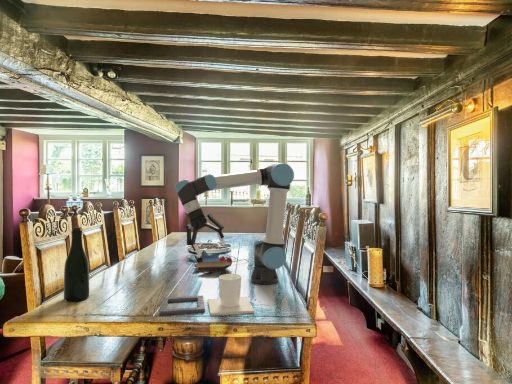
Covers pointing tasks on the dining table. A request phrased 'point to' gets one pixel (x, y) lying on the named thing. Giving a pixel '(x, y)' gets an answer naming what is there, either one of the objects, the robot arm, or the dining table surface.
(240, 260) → the glasses
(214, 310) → the cream tile
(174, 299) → the dark grey square frame
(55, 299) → the dining table surface
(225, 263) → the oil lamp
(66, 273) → the dark wine bottle
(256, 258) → the robot arm
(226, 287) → the candle holder
